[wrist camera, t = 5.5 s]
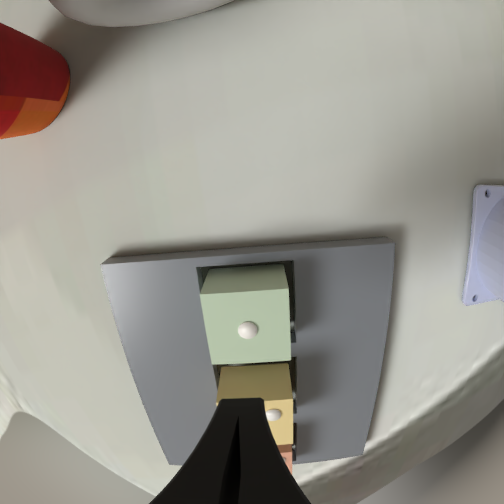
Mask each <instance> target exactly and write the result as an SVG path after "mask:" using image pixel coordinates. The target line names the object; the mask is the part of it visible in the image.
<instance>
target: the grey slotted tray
mask: <svg viewBox="0 0 504 504" xmlns="http://www.w3.org/2000/svg"><path fill="white" fill-rule="evenodd" d="M394 255H395V242H393V241H392V240H391V239H389V238H388V237H378V238H364V239H350V240H336V241H322V242H308V243H294V244H280V245H267V246H253V247H240V248H227V249H214V250H201V251H188V252H175V253H162V254H149V255H136V256H124V257H111V258H108V259H107V260H106V261H104V262H103V263H102V264H101V269H102V273H103V278H104V282H105V286H106V290H107V294H108V298H109V301H110V305H111V309H112V312H113V316H114V319H115V323H116V326H117V330H118V333H119V336H120V339H121V343H122V346H123V349H124V352H125V355H126V358H127V361H128V364H129V367H130V370H131V373H132V376H133V378H134V381H135V384H136V387H137V389H138V392H139V395H140V397H141V400H142V402H143V405H144V408H145V410H146V413H147V415H148V417H149V420H150V422H151V425H152V427H153V429H154V432H155V434H156V436H157V439H158V441H159V443H160V445H161V448H162V450H163V452H164V454H165V456H166V458H167V461H168V463H169V465H182V466H183V464H184V463H185V462H186V460H187V459H188V457H189V456H190V454H191V453H192V452H193V450H194V449H195V447H196V445H197V444H198V442H199V440H200V439H201V437H202V435H203V434H204V432H205V430H206V428H207V426H208V424H209V423H210V421H211V419H212V417H213V415H214V412H215V410H216V408H217V405H216V399H217V392H218V386H219V375H218V369H217V364H214V365H212V362H211V357H210V352H209V346H208V341H207V335H206V329H205V324H204V318H203V312H202V306H201V300H200V292H201V290H202V287H203V278H202V271H201V267H204V266H219V265H233V264H247V263H261V262H274V261H287V260H292V273H293V300H294V332H290V340H291V357H295V402H293V423H295V450H292V464H302V463H311V462H320V461H327V460H334V459H341V458H347V457H353V456H359V455H363V451H364V447H365V443H366V439H367V435H368V431H369V427H370V423H371V419H372V414H373V410H374V405H375V400H376V395H377V390H378V385H379V380H380V374H381V368H382V362H383V356H384V350H385V343H386V336H387V329H388V321H389V313H390V304H391V294H392V283H393V270H394Z"/></svg>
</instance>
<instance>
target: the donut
mask: <svg viewBox="0 0 504 504" xmlns="http://www.w3.org/2000/svg"><path fill="white" fill-rule="evenodd" d="M49 1H50V2H51V4H52V5H53V6H54V7H56V8H57V9H58V10H59V11H60V12H61V13H62V14H63V15H64V16H66V17H68V18H71V19H74V20H77V21H80V22H82V23H85V24H88V25H95V26H106V27H123V26H141V25H148V24H156V23H163V22H167V21H172V20H176V19H181V18H186V17H189V16H192V15H196V14H199V13H202V12H206V11H209V10H212V9H214V8H217V7H219V6H222V5H224V4H227V3H229V2H232V1H234V0H49Z"/></svg>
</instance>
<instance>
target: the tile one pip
mask: <svg viewBox="0 0 504 504" xmlns="http://www.w3.org/2000/svg"><path fill="white" fill-rule="evenodd" d="M200 300H201V306H202V312H203V318H204V324H205V329H206V335H207V341H208V346H209V352H210V357H211V362H212V365H214V364H241V363H260V362H275V361H288V360H291V340H290V311H289V288H288V283H287V279H286V274H285V269H284V265H283V264H274V265H260V266H247V267H233V268H218V269H209V271H208V274H207V276H206V279H205V282H204V284H203V287H202V290H201V292H200Z"/></svg>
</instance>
